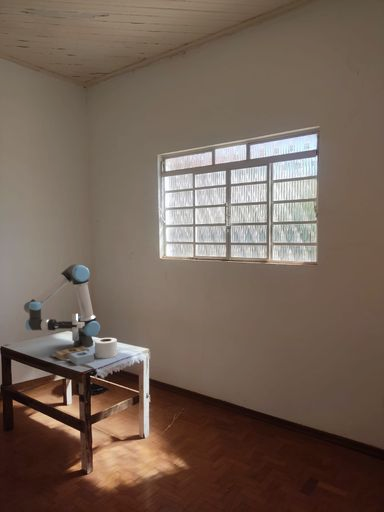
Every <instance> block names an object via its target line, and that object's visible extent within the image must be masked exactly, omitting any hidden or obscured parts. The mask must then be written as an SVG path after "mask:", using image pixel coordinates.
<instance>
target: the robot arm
mask: <svg viewBox="0 0 384 512" xmlns="http://www.w3.org/2000/svg"><path fill="white" fill-rule="evenodd" d="M90 274H91V273H90V270H89V268H88V267H87V266H84V265H82V264H75V263H74V264H71V265H69V266H68V267H66V268H65V269H64V270H63V271H62V272H61V273H60V274H59V276H58V277H57V278H56V279H55V280H53V281H52V282H50V284H49V285H47V286H46V287H45V288H44V289H43V290H41V292H39V293H38V294H37V295H36V296H34V297H33V298H32V299H31V300H30V301H27V302H25V303H23V310H24V311H25V313H28V314H29V318H28V319H27V320H25V324H24V325H25V329H26V330H28V331H32V332H33V331H44V332H46V331H55V330H58V329H59V330H60V329H70V330H72V328H78V340H77V341H73V347H72V348H76V347H81V346H84V347H86V348H90V347H92V346H94V339H93V337H95V336H96V335H98V334H99V332H100V331H101V330H100V329H101V325H100V323H99V322H98V321H97V316H96V315H95V314H94V311H93V305H92V301H91V295H90V291H89V285H88V284H89V283H90V279H89V278H90ZM71 282H72V286H73V287H75V291H76V296H77V300H78V301H77V302H78V306H79V312H80V316H78V324H72V320H71V321H69V320H68V321H67V320H66V321H65V320H62V321H57V320H56V319H55V318H54V319H53V318H50V319H49V318H48V319H47V318H44V319H43V318H42V306H43V305H44V304H45V303H46V302H47V301H48V300H49V299H50V298H52V297H53V296H54V295H55V294H57V293H58V291H60V290H61V289H62V288H63V287H65V286H66V285H67V284H70V283H71Z"/></svg>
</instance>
